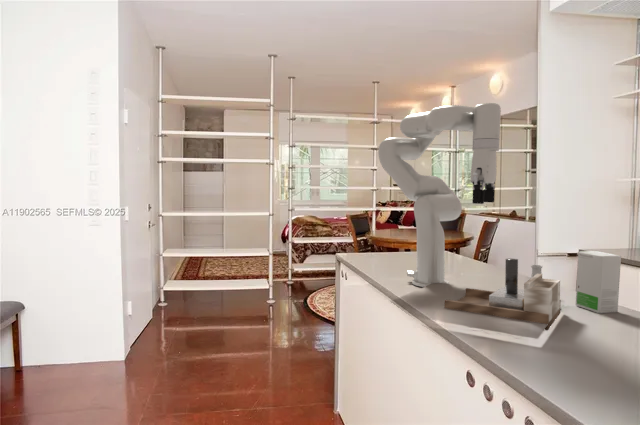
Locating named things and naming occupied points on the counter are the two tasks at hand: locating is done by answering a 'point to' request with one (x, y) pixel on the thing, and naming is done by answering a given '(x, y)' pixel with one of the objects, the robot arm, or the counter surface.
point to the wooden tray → (537, 302)
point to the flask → (536, 270)
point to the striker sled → (509, 289)
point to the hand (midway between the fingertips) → (483, 202)
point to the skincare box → (598, 281)
